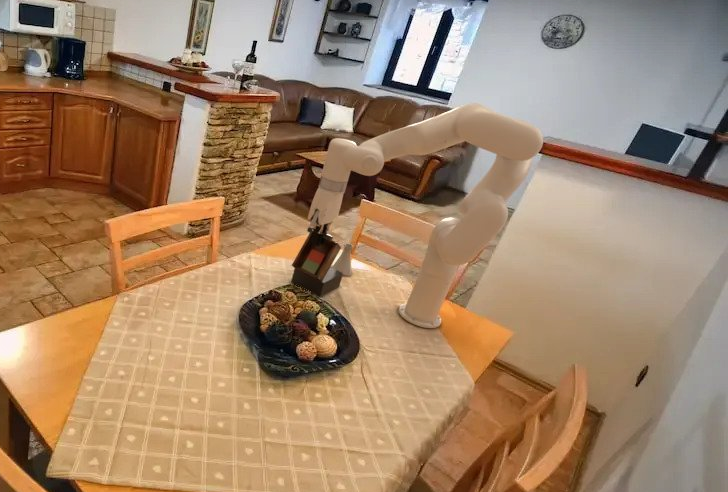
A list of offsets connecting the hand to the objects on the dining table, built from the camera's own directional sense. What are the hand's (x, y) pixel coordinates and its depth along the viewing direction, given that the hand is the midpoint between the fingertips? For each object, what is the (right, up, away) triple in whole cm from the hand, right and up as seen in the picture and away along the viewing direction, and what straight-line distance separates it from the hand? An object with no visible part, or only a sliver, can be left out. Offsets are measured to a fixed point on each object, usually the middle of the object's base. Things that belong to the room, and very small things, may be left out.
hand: (316, 243), depth 149 cm
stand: (+2, -12, +12) cm, 17 cm away
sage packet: (-1, -7, +4) cm, 8 cm away
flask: (+13, -8, +24) cm, 28 cm away
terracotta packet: (+1, -4, +4) cm, 6 cm away
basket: (+2, -4, +5) cm, 7 cm away
